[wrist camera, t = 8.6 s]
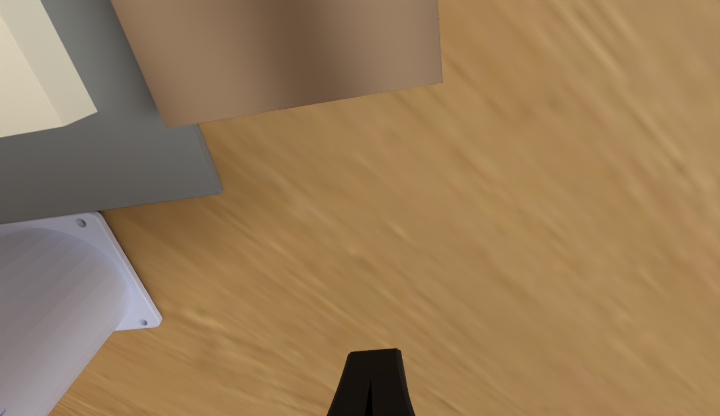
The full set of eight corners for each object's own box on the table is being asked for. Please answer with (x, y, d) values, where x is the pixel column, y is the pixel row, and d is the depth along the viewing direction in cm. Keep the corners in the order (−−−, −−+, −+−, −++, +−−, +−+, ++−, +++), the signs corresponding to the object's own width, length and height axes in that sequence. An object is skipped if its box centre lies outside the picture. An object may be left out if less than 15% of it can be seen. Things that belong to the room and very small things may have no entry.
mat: (-1, 220, 20) (-9, 225, 20) (-310, -194, 12) (-335, -200, 12) (223, 189, 19) (219, 193, 18) (28, -309, 11) (13, -322, 10)
